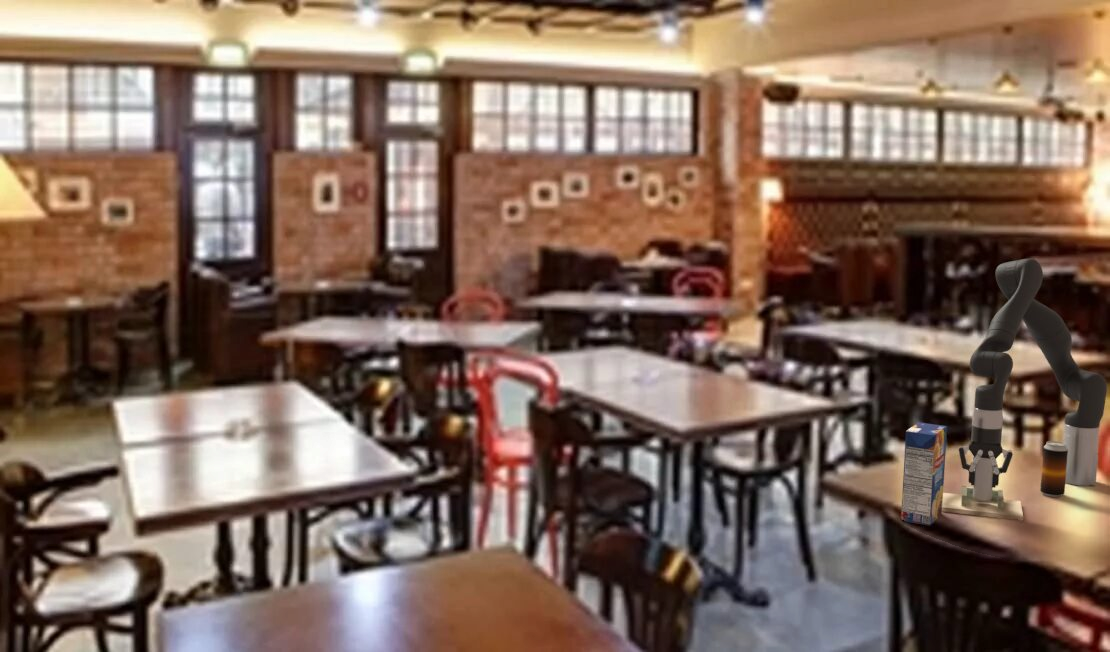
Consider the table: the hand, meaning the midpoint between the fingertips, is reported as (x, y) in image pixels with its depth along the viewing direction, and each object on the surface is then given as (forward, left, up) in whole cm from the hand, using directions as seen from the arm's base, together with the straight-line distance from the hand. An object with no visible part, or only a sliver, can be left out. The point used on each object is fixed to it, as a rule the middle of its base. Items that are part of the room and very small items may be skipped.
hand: (983, 485), depth 288 cm
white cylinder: (0, 0, -4) cm, 4 cm away
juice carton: (+15, +14, -7) cm, 22 cm away
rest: (0, 0, -6) cm, 6 cm away
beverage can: (-19, -21, -7) cm, 29 cm away
